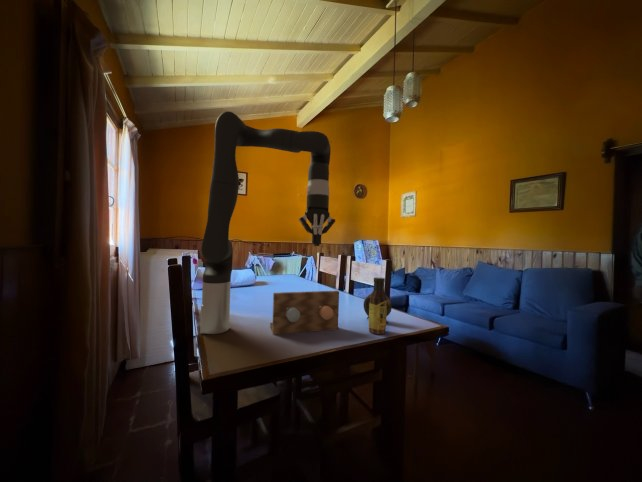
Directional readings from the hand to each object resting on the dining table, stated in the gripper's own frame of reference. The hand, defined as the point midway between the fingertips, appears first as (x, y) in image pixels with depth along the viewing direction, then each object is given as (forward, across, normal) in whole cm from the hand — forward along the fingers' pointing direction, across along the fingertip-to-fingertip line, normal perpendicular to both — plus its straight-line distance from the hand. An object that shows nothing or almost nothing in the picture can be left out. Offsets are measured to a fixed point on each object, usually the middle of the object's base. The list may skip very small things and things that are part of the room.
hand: (316, 245), depth 91 cm
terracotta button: (+26, -5, -6) cm, 27 cm away
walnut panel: (+31, +1, -9) cm, 32 cm away
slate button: (+26, +7, -6) cm, 27 cm away
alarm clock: (+31, -30, -10) cm, 44 cm away
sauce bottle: (+31, -24, +1) cm, 39 cm away
